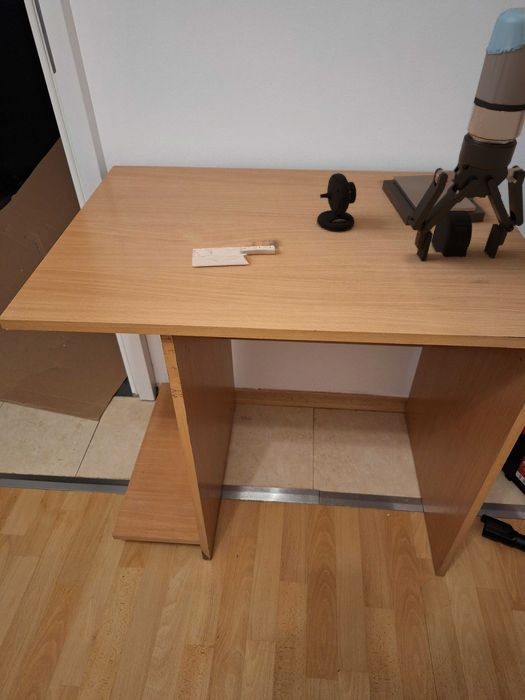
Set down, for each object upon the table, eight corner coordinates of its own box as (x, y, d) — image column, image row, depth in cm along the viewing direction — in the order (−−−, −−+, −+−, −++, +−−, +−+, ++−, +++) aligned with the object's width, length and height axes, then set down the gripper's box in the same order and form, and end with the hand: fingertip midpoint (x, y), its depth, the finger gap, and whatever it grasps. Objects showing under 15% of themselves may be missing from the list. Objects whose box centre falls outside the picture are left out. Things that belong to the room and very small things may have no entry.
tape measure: (429, 243, 92) (440, 203, 86) (452, 243, 92) (464, 203, 86) (453, 286, 81) (466, 243, 76) (479, 285, 81) (494, 243, 76)
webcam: (360, 229, 96) (367, 180, 89) (324, 234, 94) (329, 184, 88) (345, 212, 101) (351, 165, 95) (311, 217, 100) (315, 168, 93)
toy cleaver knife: (276, 263, 86) (276, 258, 85) (192, 267, 86) (191, 262, 85) (274, 249, 90) (274, 243, 89) (193, 252, 89) (192, 247, 89)
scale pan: (444, 177, 110) (445, 174, 109) (475, 211, 97) (476, 207, 96) (392, 179, 109) (393, 176, 108) (416, 213, 96) (417, 209, 96)
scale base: (449, 186, 112) (452, 174, 110) (482, 221, 98) (486, 209, 96) (382, 188, 111) (383, 177, 109) (405, 225, 97) (408, 213, 96)
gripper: (555, 125, 75) (508, 248, 90) (405, 129, 74) (382, 254, 88) (583, 141, 70) (528, 270, 84) (421, 146, 68) (393, 276, 83)
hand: (453, 262), depth 86 cm, fingers open, 12 cm apart
